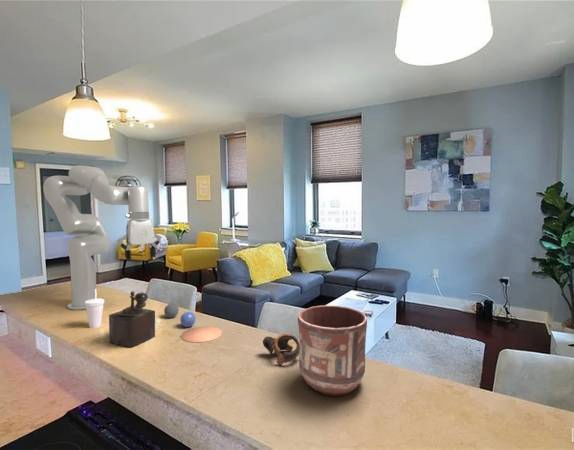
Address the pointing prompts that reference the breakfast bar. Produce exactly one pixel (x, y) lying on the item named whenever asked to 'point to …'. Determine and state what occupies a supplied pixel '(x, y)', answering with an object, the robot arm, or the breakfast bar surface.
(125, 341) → the brown coffee grinder
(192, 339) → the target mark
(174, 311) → the gray ball
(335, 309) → the pottery
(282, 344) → the brown curved piece
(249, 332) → the breakfast bar surface
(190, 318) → the object ball
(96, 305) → the smoothie
